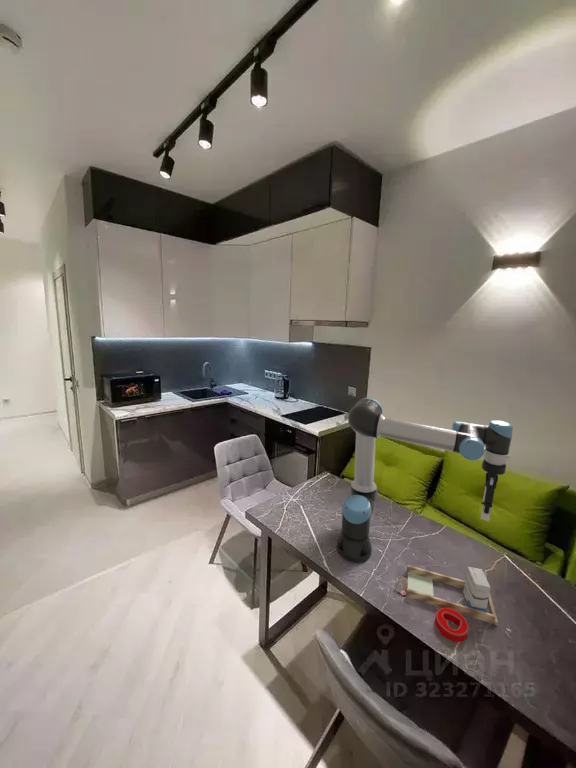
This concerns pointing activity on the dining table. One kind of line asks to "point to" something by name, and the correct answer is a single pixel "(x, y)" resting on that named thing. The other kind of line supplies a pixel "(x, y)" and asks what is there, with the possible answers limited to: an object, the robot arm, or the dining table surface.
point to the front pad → (420, 584)
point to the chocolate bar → (402, 586)
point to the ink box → (476, 589)
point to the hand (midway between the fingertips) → (485, 510)
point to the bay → (444, 603)
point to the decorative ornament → (456, 618)
